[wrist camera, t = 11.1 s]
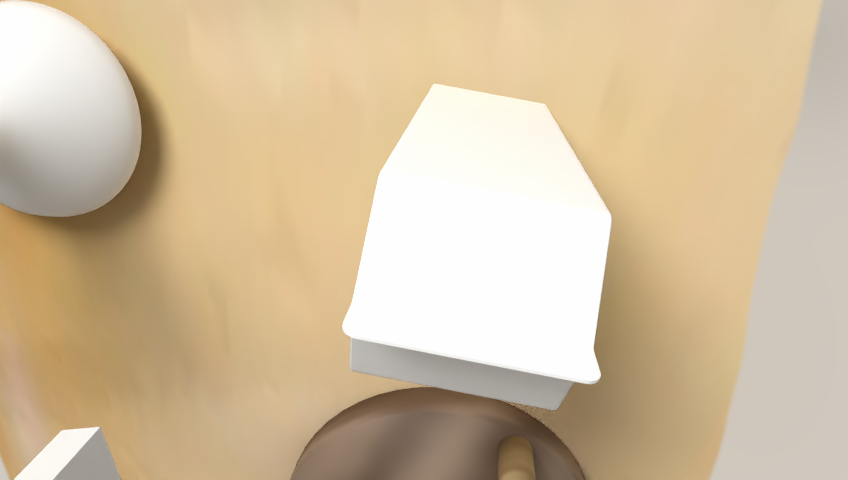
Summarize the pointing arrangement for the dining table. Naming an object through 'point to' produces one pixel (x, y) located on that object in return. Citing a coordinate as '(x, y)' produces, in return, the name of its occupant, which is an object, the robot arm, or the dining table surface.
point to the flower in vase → (61, 114)
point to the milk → (482, 255)
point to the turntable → (435, 441)
